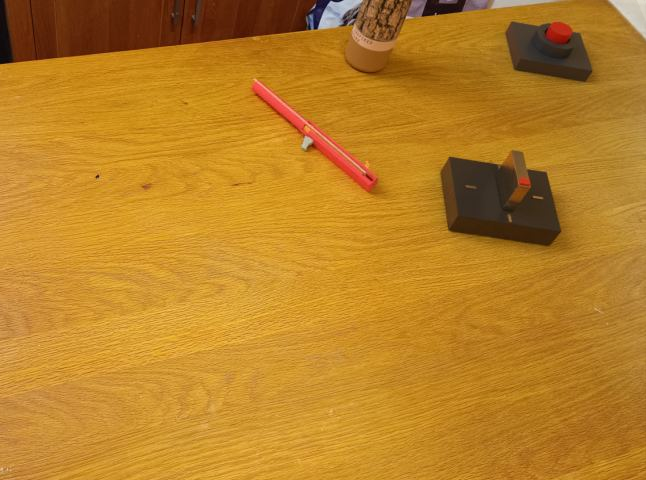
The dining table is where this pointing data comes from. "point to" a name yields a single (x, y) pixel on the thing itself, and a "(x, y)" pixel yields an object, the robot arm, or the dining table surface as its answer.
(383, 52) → the paper tube
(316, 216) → the dining table surface
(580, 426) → the dining table surface
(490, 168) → the panel
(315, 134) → the red grooved bar
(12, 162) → the dining table surface
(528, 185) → the dial knob
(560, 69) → the button box
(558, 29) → the button
